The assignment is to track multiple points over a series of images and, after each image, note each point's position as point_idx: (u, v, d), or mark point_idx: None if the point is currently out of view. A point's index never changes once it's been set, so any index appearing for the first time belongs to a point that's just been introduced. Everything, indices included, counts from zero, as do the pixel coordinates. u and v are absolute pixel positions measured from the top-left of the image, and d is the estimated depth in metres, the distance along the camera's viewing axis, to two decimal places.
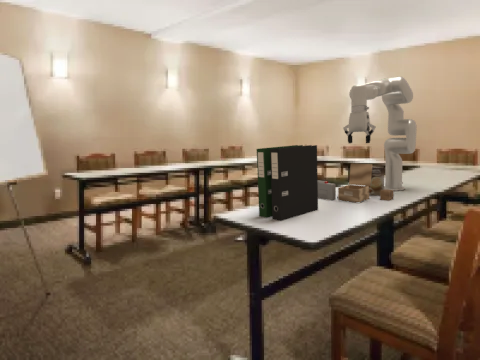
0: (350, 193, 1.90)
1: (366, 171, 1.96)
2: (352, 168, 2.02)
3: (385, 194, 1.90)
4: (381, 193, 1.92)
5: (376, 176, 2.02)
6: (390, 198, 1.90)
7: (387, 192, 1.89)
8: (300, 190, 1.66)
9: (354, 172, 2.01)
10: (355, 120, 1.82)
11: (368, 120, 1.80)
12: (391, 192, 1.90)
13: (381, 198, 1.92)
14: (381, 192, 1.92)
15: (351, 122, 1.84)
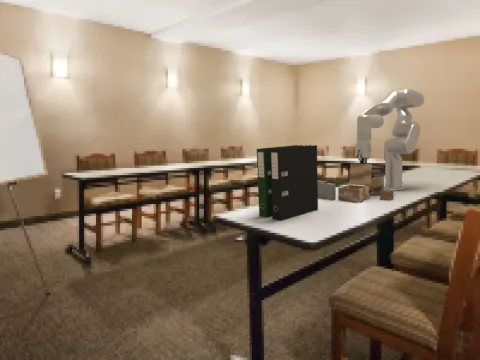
0: (350, 193, 1.90)
1: (366, 171, 1.96)
2: (352, 168, 2.02)
3: (385, 194, 1.90)
4: (381, 193, 1.92)
5: (376, 176, 2.02)
6: (390, 198, 1.90)
7: (387, 192, 1.89)
8: (300, 190, 1.66)
9: (354, 172, 2.01)
10: (367, 147, 1.98)
11: None
12: (391, 192, 1.90)
13: (381, 198, 1.92)
14: (381, 192, 1.92)
15: (365, 149, 1.96)
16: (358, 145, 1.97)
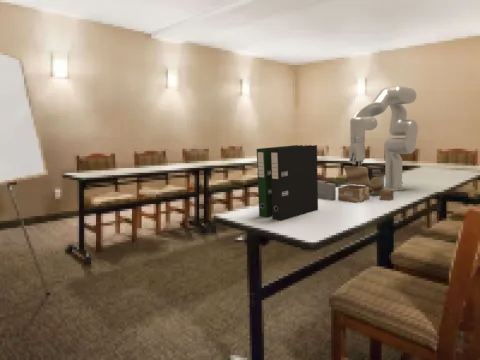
0: (350, 193, 1.90)
1: (362, 173, 1.93)
2: (347, 171, 1.98)
3: (385, 194, 1.90)
4: (381, 193, 1.92)
5: (376, 176, 2.02)
6: (390, 198, 1.90)
7: (387, 192, 1.89)
8: (300, 190, 1.66)
9: (350, 174, 1.98)
10: (361, 150, 1.93)
11: None
12: (391, 192, 1.90)
13: (381, 198, 1.92)
14: (381, 192, 1.92)
15: (359, 152, 1.91)
16: (352, 149, 1.92)
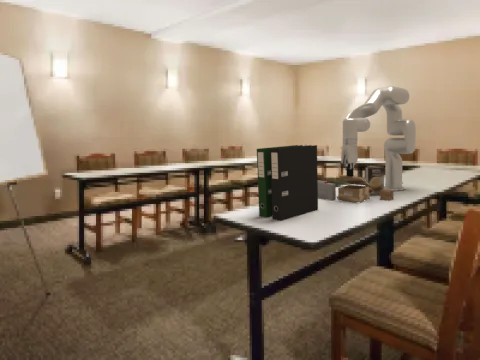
0: (350, 193, 1.90)
1: (359, 180, 1.91)
2: (343, 178, 1.96)
3: (385, 194, 1.90)
4: (381, 193, 1.92)
5: (376, 176, 2.02)
6: (390, 198, 1.90)
7: (387, 192, 1.89)
8: (300, 190, 1.66)
9: (347, 180, 1.97)
10: (354, 152, 1.87)
11: None
12: (391, 192, 1.90)
13: (381, 198, 1.92)
14: (381, 192, 1.92)
15: (351, 154, 1.85)
16: (344, 150, 1.86)
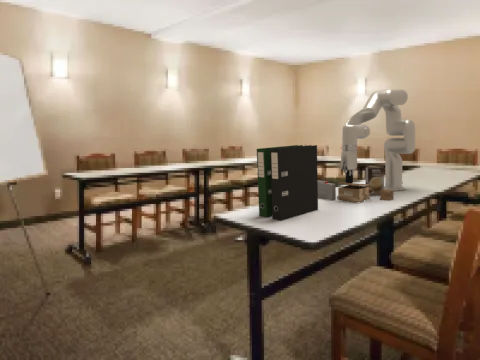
0: (350, 193, 1.90)
1: None
2: None
3: (385, 194, 1.90)
4: (381, 193, 1.92)
5: (376, 176, 2.02)
6: (390, 198, 1.90)
7: (387, 192, 1.89)
8: (300, 190, 1.66)
9: None
10: (353, 159, 1.87)
11: None
12: (391, 192, 1.90)
13: (381, 198, 1.92)
14: (381, 192, 1.92)
15: (350, 160, 1.85)
16: (343, 157, 1.86)
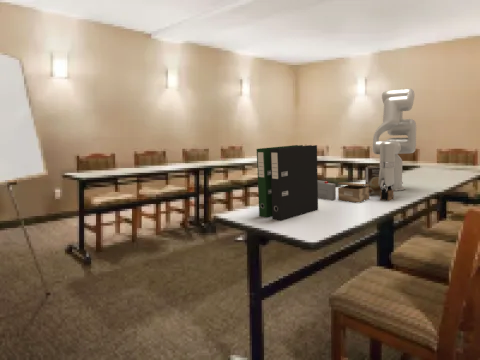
0: (350, 193, 1.90)
1: None
2: None
3: None
4: None
5: (376, 176, 2.02)
6: (390, 198, 1.90)
7: None
8: (300, 190, 1.66)
9: None
10: (391, 175, 1.89)
11: None
12: (391, 192, 1.90)
13: None
14: None
15: (389, 177, 1.87)
16: (381, 173, 1.88)
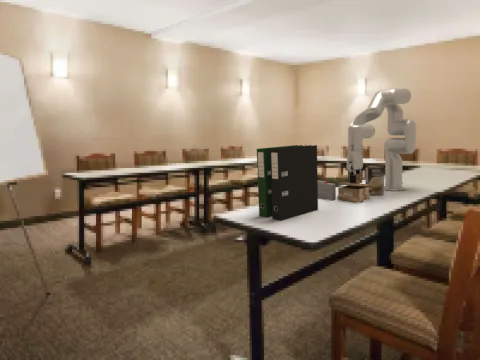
0: (350, 193, 1.90)
1: None
2: None
3: None
4: None
5: (376, 176, 2.02)
6: (359, 182, 1.91)
7: (355, 175, 1.90)
8: (300, 190, 1.66)
9: None
10: (359, 159, 1.90)
11: None
12: (359, 175, 1.91)
13: None
14: None
15: (356, 160, 1.88)
16: (349, 157, 1.88)
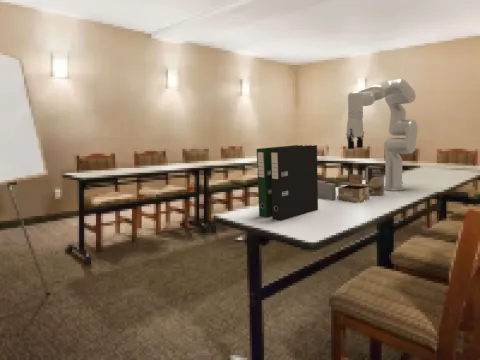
0: (350, 193, 1.90)
1: None
2: None
3: (354, 177, 1.91)
4: (350, 176, 1.93)
5: (376, 176, 2.02)
6: (359, 182, 1.91)
7: (356, 175, 1.90)
8: (300, 190, 1.66)
9: None
10: (359, 126, 1.87)
11: None
12: (360, 176, 1.91)
13: (350, 181, 1.93)
14: (350, 175, 1.93)
15: (356, 127, 1.86)
16: (349, 124, 1.86)
